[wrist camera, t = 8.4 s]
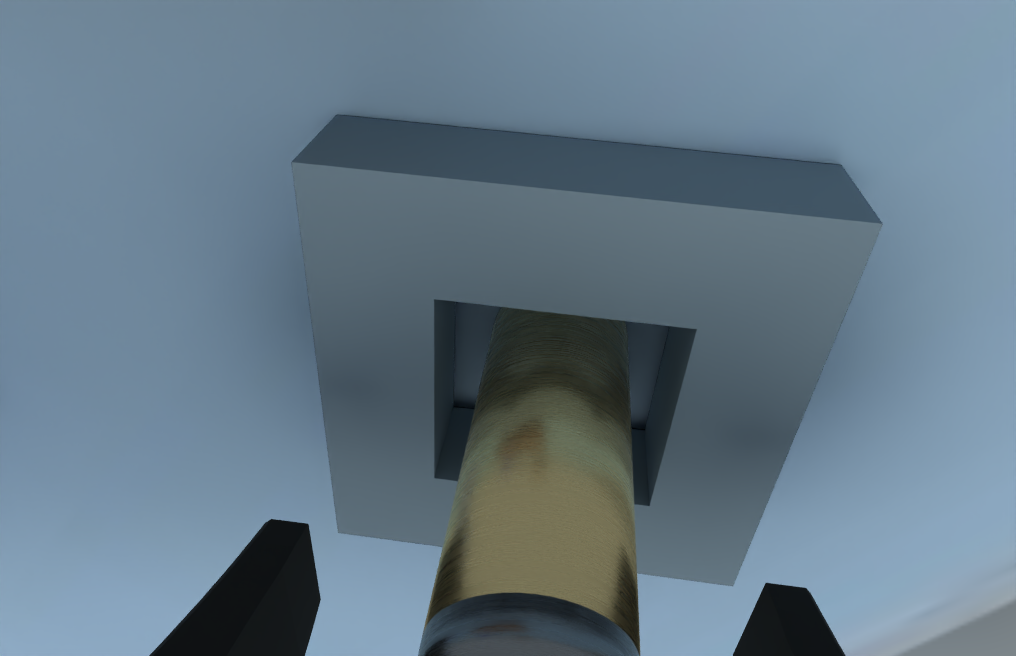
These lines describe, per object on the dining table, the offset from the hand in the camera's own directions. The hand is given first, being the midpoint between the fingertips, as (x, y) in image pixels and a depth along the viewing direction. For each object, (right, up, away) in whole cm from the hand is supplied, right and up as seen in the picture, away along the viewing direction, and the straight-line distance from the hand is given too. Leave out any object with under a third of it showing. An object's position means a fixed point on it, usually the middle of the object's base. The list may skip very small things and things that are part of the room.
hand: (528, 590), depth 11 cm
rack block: (+1, +4, +6) cm, 7 cm away
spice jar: (+1, +4, +6) cm, 7 cm away
